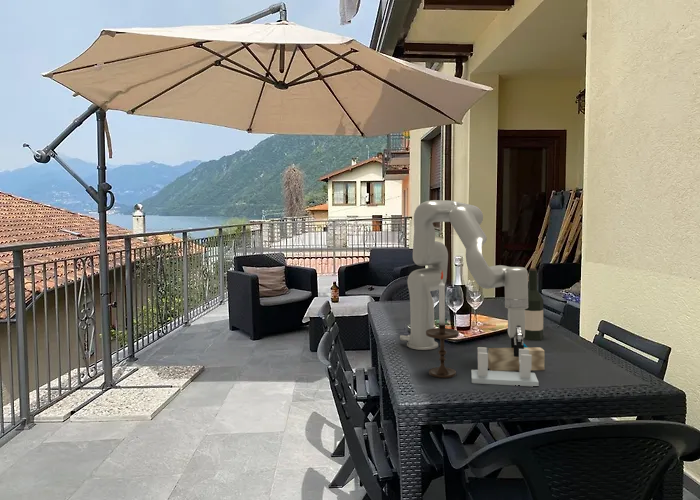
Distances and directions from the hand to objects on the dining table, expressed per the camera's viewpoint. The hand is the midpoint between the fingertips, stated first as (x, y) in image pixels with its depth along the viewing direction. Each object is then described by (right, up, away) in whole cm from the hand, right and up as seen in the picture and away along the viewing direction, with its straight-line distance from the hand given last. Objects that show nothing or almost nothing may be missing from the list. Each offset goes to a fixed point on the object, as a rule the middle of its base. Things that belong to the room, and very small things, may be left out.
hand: (517, 352), depth 170 cm
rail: (0, -6, +1) cm, 6 cm away
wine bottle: (+20, -3, +41) cm, 46 cm away
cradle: (-8, -7, -11) cm, 15 cm away
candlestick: (-26, -7, -3) cm, 27 cm away
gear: (+9, -4, +23) cm, 25 cm away
